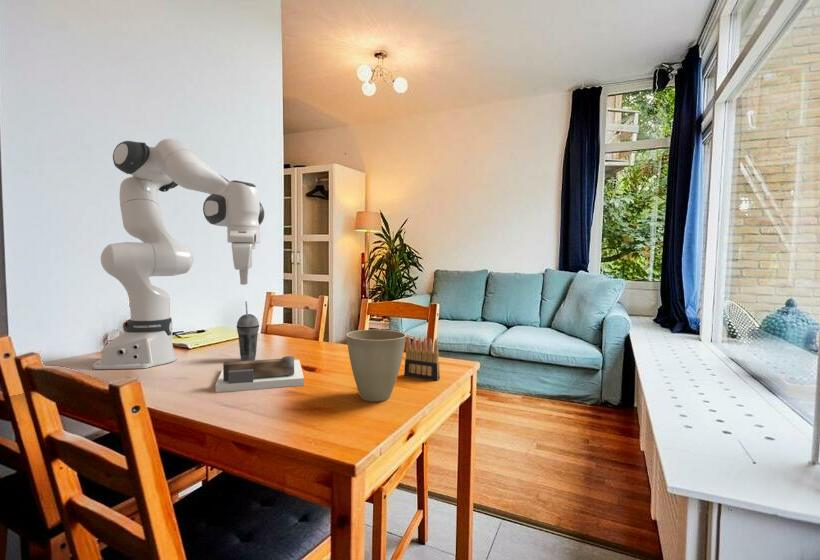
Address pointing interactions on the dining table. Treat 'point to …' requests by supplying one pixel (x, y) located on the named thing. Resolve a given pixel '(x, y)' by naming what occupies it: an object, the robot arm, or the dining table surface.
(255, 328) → the beverage cup
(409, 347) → the ammunition clip
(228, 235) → the robot arm
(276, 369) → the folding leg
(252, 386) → the shallow rectangular tray
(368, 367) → the plant pot
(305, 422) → the dining table surface
